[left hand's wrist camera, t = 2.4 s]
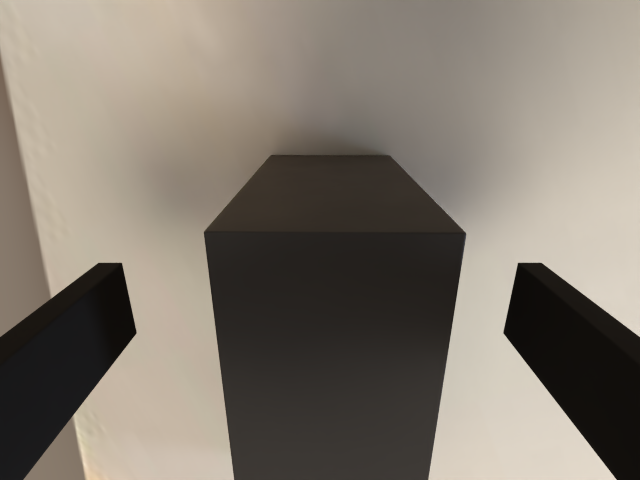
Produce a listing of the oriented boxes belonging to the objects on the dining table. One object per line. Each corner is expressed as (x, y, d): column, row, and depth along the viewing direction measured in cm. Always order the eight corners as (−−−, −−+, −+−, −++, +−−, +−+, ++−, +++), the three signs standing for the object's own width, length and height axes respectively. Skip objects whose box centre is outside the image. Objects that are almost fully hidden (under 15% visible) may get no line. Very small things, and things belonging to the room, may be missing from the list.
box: (270, 155, 20) (203, 231, 9) (390, 155, 20) (467, 233, 9) (285, 459, 29) (259, 687, 18) (369, 460, 29) (395, 690, 18)
